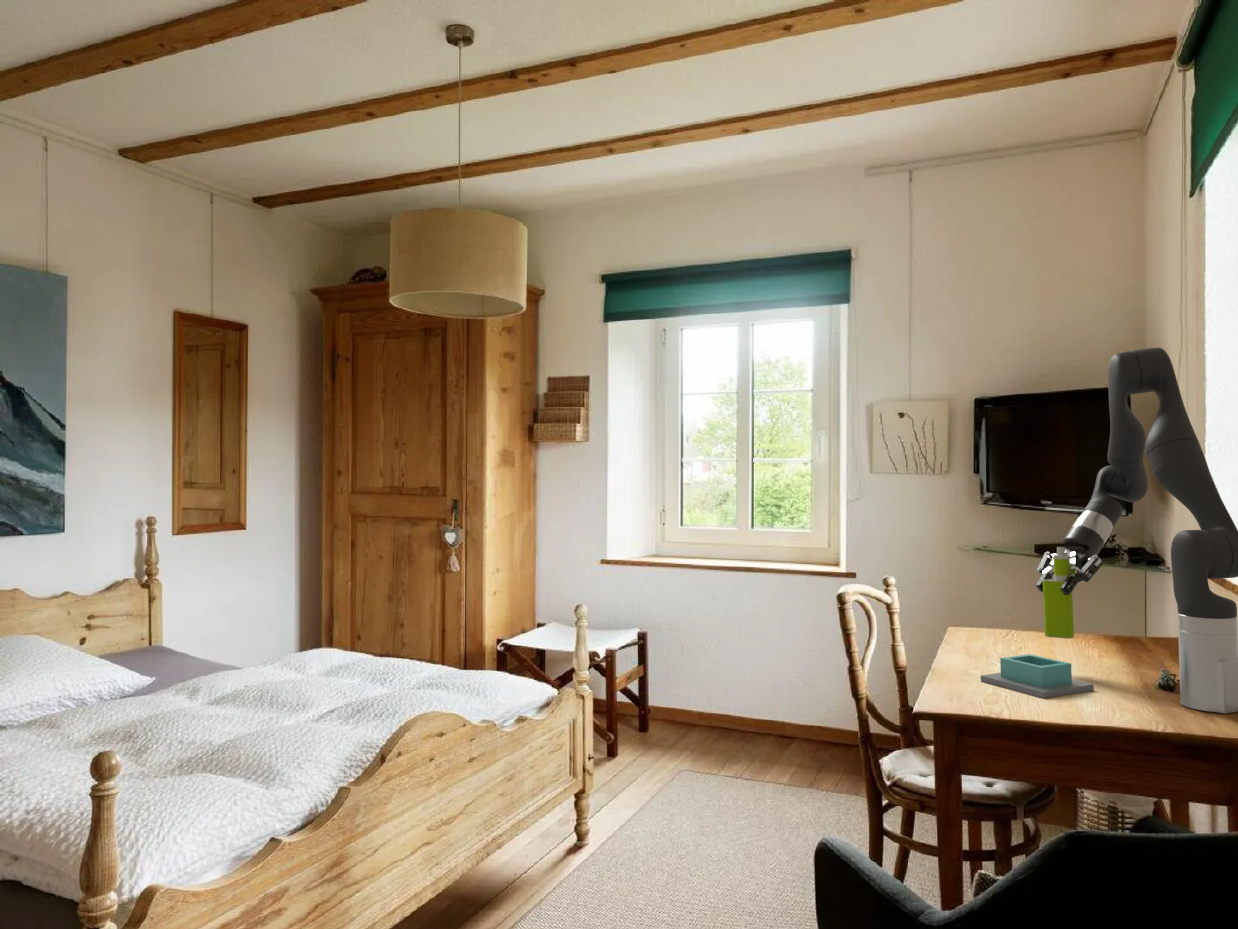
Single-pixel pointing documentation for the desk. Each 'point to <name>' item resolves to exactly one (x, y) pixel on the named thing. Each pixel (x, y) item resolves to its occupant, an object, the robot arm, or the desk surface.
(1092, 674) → the desk surface
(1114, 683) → the desk surface
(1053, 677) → the dock
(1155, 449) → the robot arm
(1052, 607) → the vape
